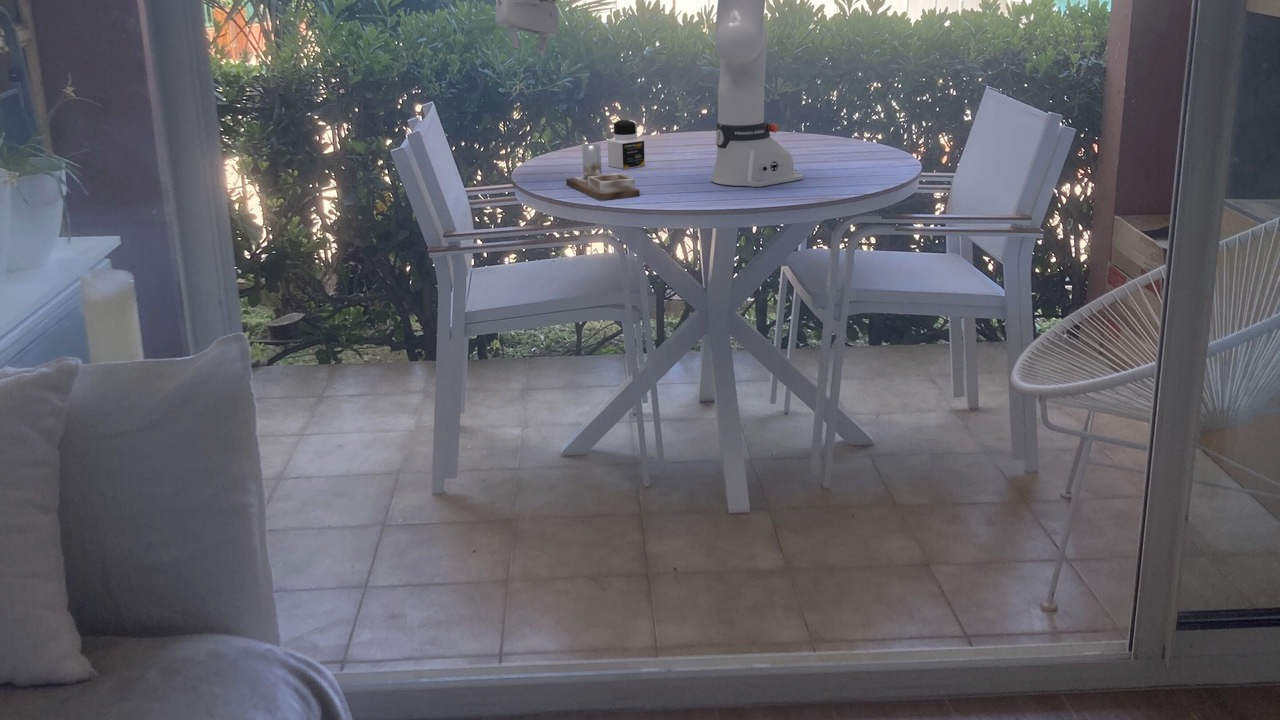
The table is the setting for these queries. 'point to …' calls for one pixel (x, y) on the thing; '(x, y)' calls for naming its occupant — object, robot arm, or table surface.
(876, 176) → the table surface
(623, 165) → the medicine bottle
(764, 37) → the robot arm
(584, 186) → the board
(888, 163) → the table surface
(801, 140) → the table surface
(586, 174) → the aluminium barrel nut
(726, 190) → the table surface
